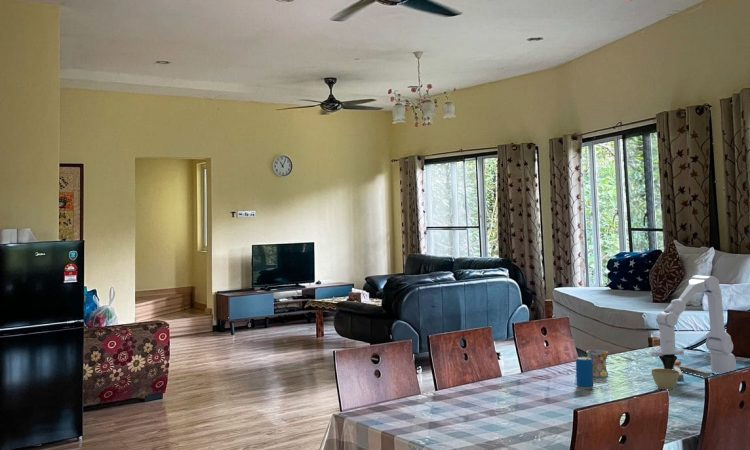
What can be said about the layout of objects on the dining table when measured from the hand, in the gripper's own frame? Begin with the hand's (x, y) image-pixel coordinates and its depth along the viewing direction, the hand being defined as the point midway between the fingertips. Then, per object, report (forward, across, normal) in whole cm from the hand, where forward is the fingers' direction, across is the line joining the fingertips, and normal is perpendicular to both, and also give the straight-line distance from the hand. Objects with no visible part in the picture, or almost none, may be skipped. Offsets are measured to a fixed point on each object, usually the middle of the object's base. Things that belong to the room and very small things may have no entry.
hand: (668, 372), depth 259 cm
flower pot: (+3, +12, +13) cm, 18 cm away
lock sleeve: (+3, -14, -14) cm, 20 cm away
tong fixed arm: (+3, -14, -5) cm, 16 cm away
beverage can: (+3, +40, 0) cm, 41 cm away
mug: (+3, +24, -16) cm, 29 cm away
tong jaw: (+2, -7, -3) cm, 8 cm away
